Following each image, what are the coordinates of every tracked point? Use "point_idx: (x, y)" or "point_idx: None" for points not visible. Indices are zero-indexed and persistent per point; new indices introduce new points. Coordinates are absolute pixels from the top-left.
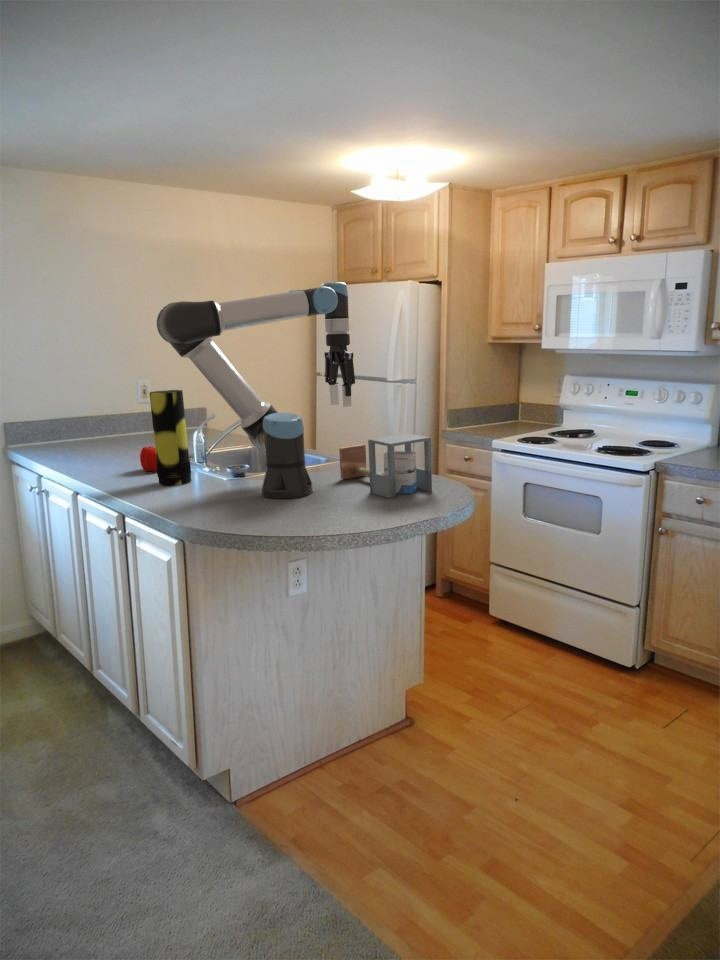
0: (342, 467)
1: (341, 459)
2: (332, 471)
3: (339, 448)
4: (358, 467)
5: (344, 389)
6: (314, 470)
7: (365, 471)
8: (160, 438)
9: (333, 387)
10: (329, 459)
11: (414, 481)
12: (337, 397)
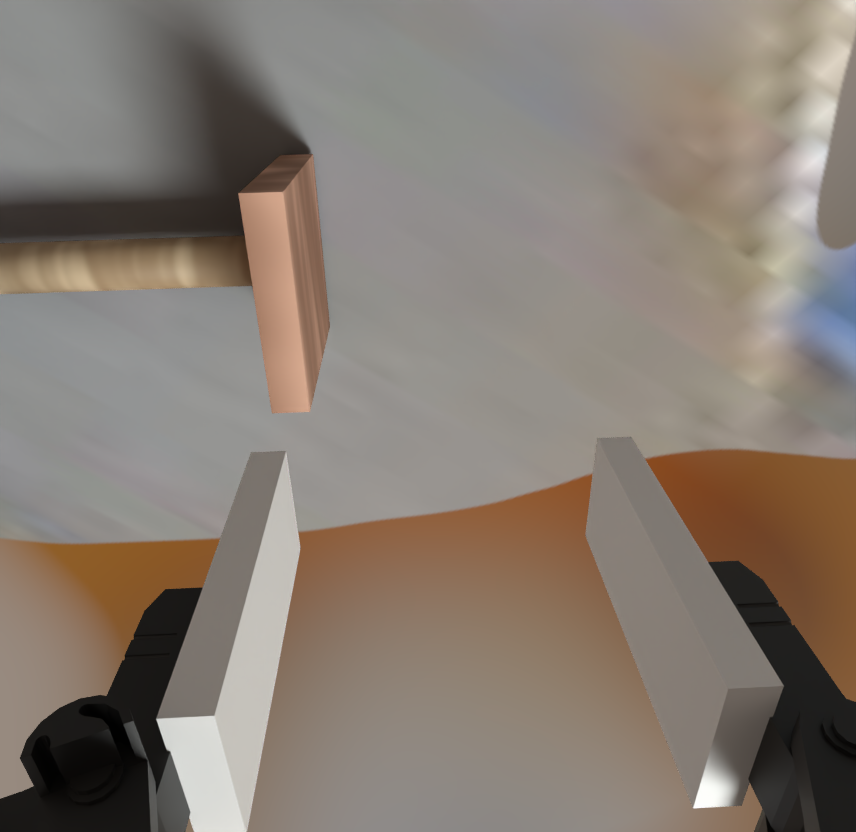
0: (271, 166)
1: (270, 175)
2: (560, 239)
3: (280, 191)
4: (222, 261)
5: (179, 673)
6: (680, 164)
7: (118, 248)
8: None
9: (691, 684)
10: (851, 398)
11: None
12: (616, 590)
